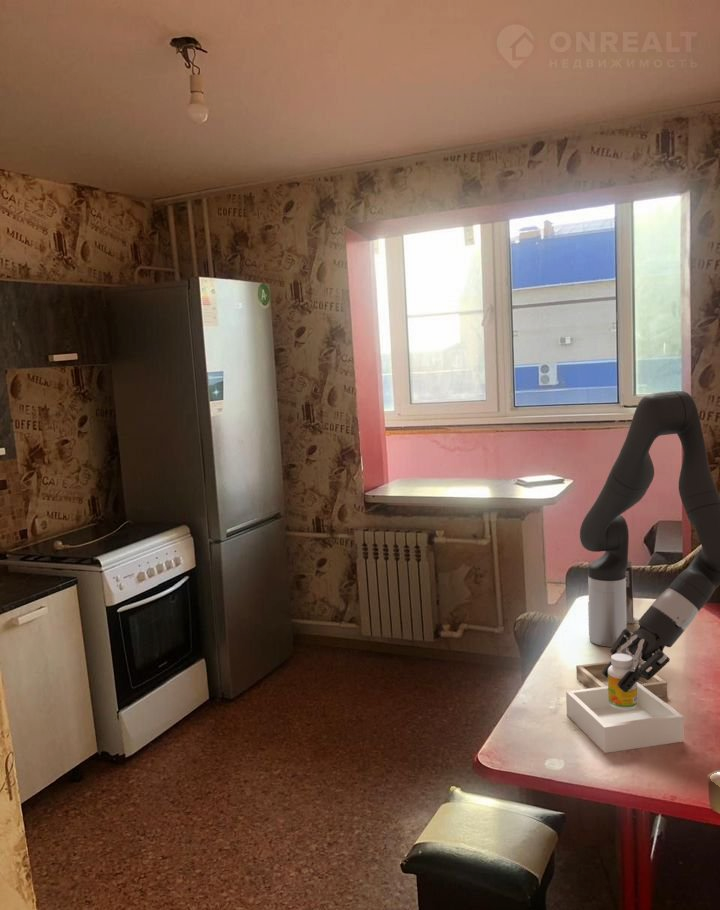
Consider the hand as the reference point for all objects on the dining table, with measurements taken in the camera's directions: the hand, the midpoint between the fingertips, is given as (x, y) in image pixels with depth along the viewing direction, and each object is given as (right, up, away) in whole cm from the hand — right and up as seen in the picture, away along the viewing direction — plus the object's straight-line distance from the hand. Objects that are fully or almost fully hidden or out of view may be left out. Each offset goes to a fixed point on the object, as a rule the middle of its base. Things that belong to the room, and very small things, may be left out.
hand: (613, 682), depth 144 cm
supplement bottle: (+2, -5, +1) cm, 5 cm away
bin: (+2, -9, +1) cm, 10 cm away
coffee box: (+22, -2, +62) cm, 66 cm away
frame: (+8, -7, +19) cm, 22 cm away
